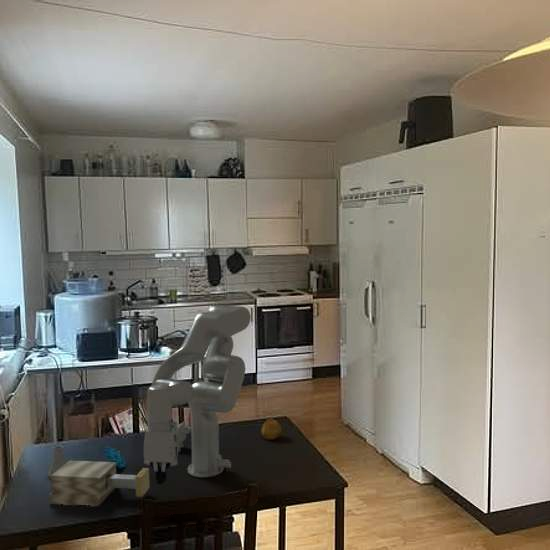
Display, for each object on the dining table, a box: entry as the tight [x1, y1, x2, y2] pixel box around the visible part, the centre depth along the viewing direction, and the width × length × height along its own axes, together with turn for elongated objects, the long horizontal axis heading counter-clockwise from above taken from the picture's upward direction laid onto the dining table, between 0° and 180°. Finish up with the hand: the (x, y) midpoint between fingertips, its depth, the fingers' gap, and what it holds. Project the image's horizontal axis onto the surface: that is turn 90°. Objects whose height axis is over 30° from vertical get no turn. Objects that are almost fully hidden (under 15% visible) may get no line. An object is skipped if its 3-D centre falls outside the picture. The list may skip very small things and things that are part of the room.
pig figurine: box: [174, 421, 191, 452], centre depth 210 cm, size 5×13×11 cm, turn 83°
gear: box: [103, 445, 127, 469], centre depth 194 cm, size 11×6×10 cm
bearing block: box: [49, 460, 117, 507], centre depth 172 cm, size 16×14×8 cm
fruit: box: [261, 418, 282, 440], centre depth 221 cm, size 8×8×8 cm
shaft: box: [106, 467, 150, 498], centre depth 171 cm, size 20×6×6 cm, turn 83°
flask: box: [47, 445, 67, 480], centre depth 187 cm, size 7×7×10 cm
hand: (161, 482), depth 169 cm, fingers closed
